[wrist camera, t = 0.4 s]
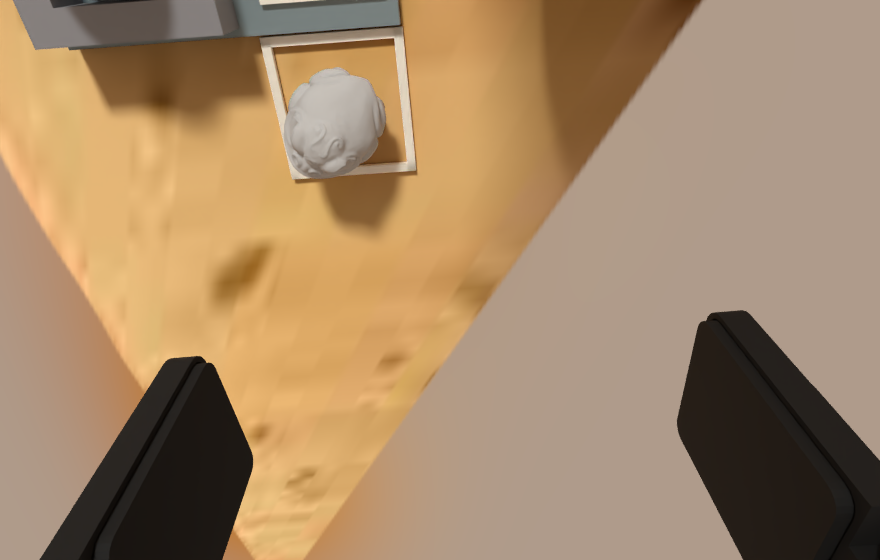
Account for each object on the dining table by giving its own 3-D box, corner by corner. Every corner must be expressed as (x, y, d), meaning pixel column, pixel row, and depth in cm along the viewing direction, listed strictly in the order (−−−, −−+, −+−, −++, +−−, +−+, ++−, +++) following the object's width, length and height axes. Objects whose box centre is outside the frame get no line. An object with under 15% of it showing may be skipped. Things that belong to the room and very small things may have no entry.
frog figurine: (279, 117, 36) (250, 150, 31) (336, 34, 34) (316, 53, 28) (350, 170, 39) (336, 211, 33) (409, 96, 36) (406, 126, 30)
